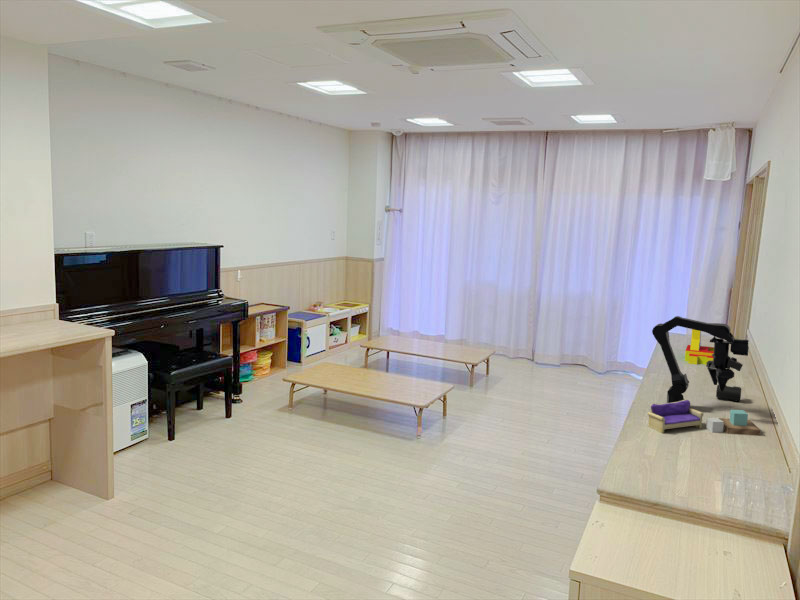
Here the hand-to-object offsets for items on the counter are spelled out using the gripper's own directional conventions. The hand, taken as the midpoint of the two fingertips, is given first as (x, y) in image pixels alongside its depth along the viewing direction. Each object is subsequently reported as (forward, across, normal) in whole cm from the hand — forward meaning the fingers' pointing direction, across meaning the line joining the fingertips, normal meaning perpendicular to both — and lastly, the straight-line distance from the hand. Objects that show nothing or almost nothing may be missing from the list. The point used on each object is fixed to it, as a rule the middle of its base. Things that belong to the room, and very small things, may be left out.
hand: (718, 387), depth 267 cm
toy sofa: (+12, -22, +22) cm, 33 cm away
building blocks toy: (+12, +107, -22) cm, 110 cm away
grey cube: (+12, -22, +7) cm, 26 cm away
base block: (+13, -19, -3) cm, 23 cm away
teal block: (+10, -19, -3) cm, 21 cm away
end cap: (+12, +24, -12) cm, 30 cm away
